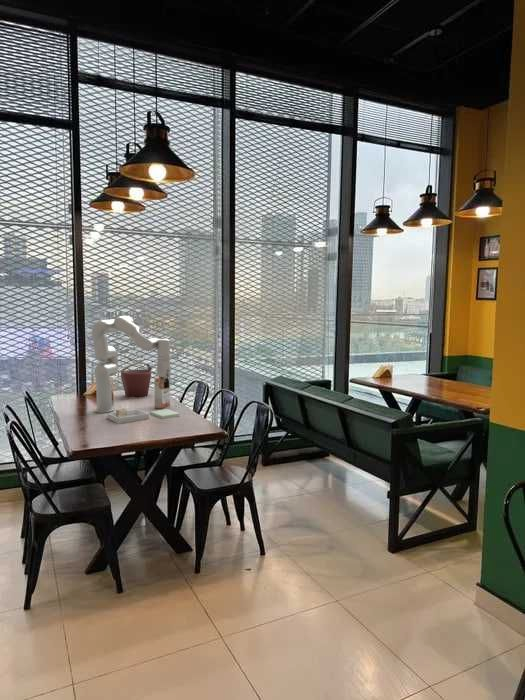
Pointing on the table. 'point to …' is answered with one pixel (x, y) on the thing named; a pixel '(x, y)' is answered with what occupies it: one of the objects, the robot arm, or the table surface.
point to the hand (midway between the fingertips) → (164, 386)
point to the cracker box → (161, 395)
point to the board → (164, 413)
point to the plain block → (121, 413)
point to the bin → (129, 416)
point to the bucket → (136, 381)
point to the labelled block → (161, 384)
